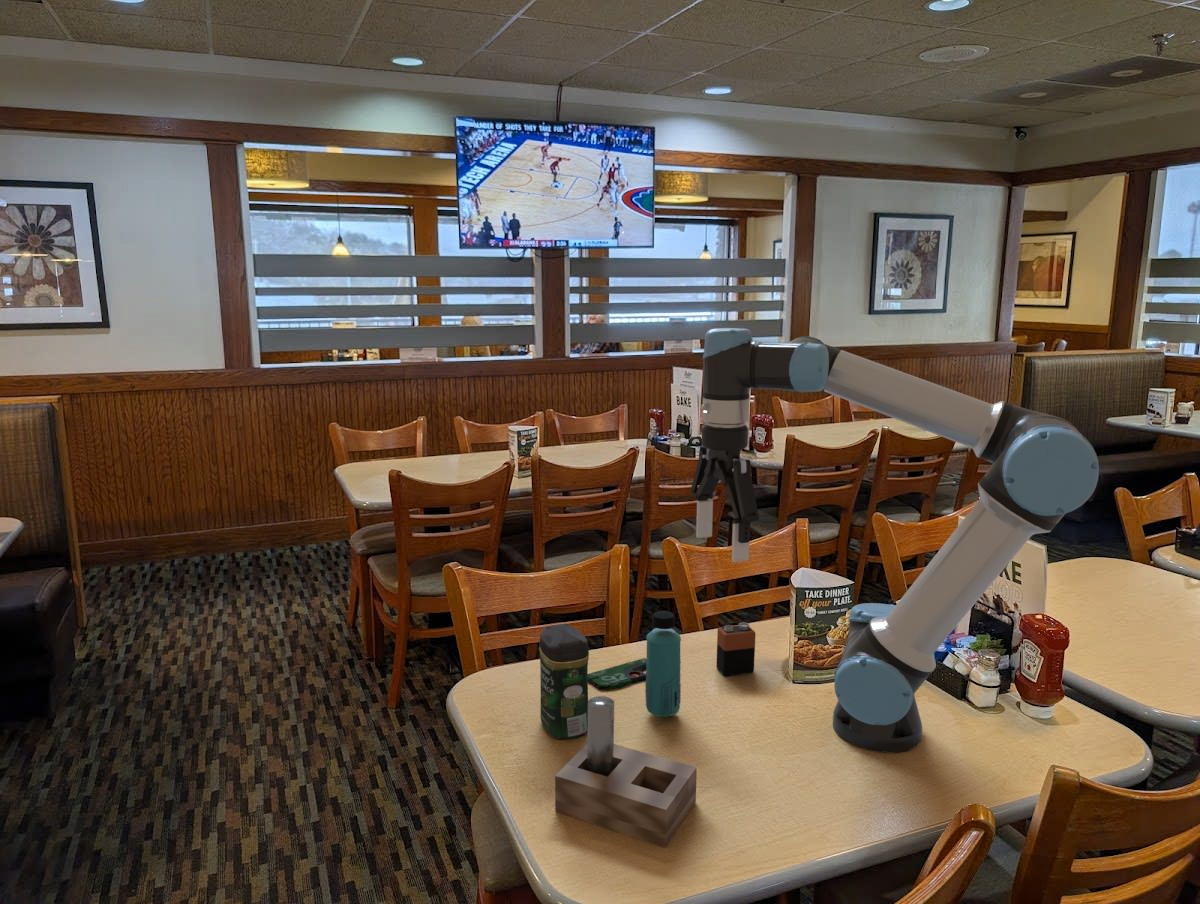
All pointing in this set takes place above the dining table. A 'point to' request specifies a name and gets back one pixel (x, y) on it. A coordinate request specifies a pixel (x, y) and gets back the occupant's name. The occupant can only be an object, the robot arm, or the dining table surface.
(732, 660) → the battery
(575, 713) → the coffee jar
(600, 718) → the steel peg
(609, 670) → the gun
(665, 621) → the beverage bottle
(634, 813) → the peg block
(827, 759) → the dining table surface
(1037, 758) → the dining table surface
